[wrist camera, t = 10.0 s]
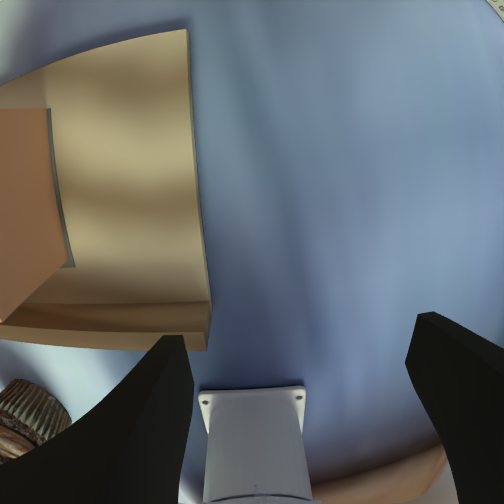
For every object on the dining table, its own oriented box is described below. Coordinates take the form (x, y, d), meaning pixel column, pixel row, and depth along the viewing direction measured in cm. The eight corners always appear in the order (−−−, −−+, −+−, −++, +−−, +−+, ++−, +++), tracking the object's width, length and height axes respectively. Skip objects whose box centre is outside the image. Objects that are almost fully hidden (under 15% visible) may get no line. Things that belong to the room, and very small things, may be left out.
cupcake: (82, 446, 26) (58, 516, 16) (12, 412, 24) (-21, 472, 15) (77, 397, 22) (38, 484, 13) (-5, 357, 21) (-54, 425, 12)
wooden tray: (212, 309, 19) (206, 350, 15) (1, 308, 19) (-25, 334, 15) (189, 34, 13) (174, 8, 9) (-38, 112, 13) (-75, 116, 9)
